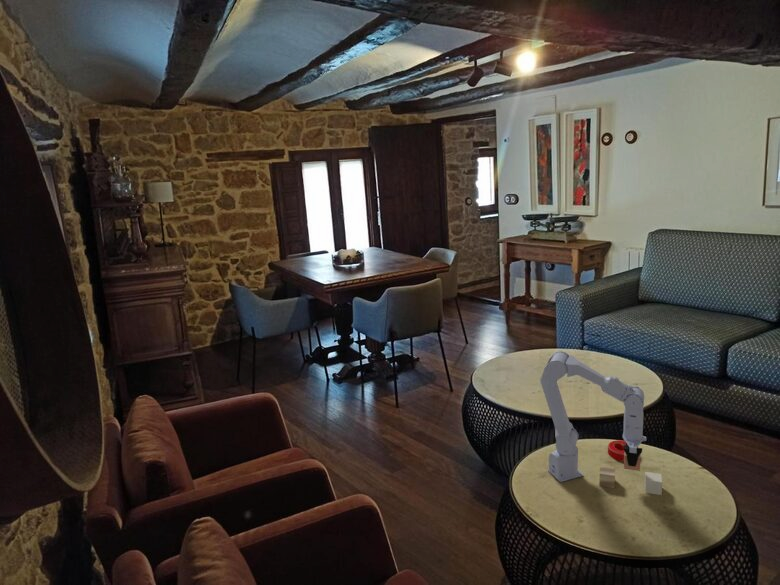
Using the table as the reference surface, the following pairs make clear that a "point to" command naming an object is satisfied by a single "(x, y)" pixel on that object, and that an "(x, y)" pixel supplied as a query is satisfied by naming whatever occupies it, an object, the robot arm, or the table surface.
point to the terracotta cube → (631, 466)
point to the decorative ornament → (616, 449)
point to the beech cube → (607, 476)
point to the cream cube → (653, 483)
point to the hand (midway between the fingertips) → (631, 461)
